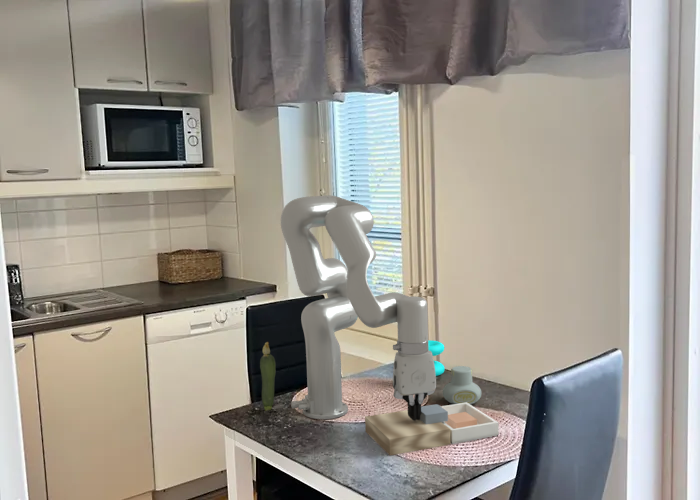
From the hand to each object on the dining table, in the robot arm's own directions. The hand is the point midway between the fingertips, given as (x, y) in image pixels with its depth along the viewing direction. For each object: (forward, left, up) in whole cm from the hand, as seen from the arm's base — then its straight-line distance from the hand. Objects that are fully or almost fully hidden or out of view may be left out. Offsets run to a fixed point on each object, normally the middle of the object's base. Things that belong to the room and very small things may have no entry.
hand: (414, 418), depth 174 cm
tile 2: (+13, 0, -2) cm, 13 cm away
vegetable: (-29, +34, -5) cm, 45 cm away
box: (+13, 0, -5) cm, 14 cm away
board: (-2, 0, -5) cm, 5 cm away
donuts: (+27, +46, -5) cm, 54 cm away
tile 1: (+5, 0, -1) cm, 5 cm away
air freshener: (+23, +17, -5) cm, 29 cm away
